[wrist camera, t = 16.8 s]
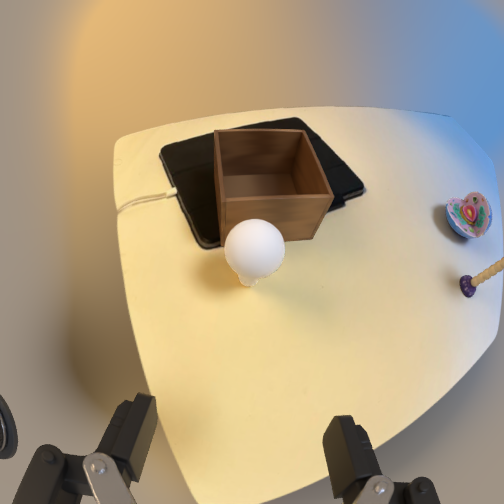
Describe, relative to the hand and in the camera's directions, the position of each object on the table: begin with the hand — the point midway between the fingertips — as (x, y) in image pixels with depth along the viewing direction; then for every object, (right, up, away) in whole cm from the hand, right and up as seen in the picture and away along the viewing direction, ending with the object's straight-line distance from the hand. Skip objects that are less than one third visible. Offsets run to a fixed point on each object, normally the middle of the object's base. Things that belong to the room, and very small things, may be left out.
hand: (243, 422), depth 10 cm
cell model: (+43, +12, +34) cm, 56 cm away
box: (+2, +14, +30) cm, 34 cm away
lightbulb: (0, +4, +25) cm, 25 cm away
